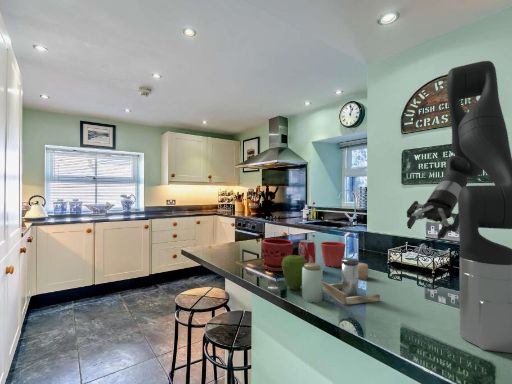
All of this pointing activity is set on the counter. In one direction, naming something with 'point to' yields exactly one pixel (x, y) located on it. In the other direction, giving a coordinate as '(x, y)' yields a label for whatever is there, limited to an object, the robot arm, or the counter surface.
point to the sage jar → (312, 282)
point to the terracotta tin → (362, 271)
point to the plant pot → (275, 253)
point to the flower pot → (333, 253)
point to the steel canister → (350, 276)
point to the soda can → (307, 250)
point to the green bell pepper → (293, 270)
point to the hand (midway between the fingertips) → (423, 232)
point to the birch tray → (341, 297)
